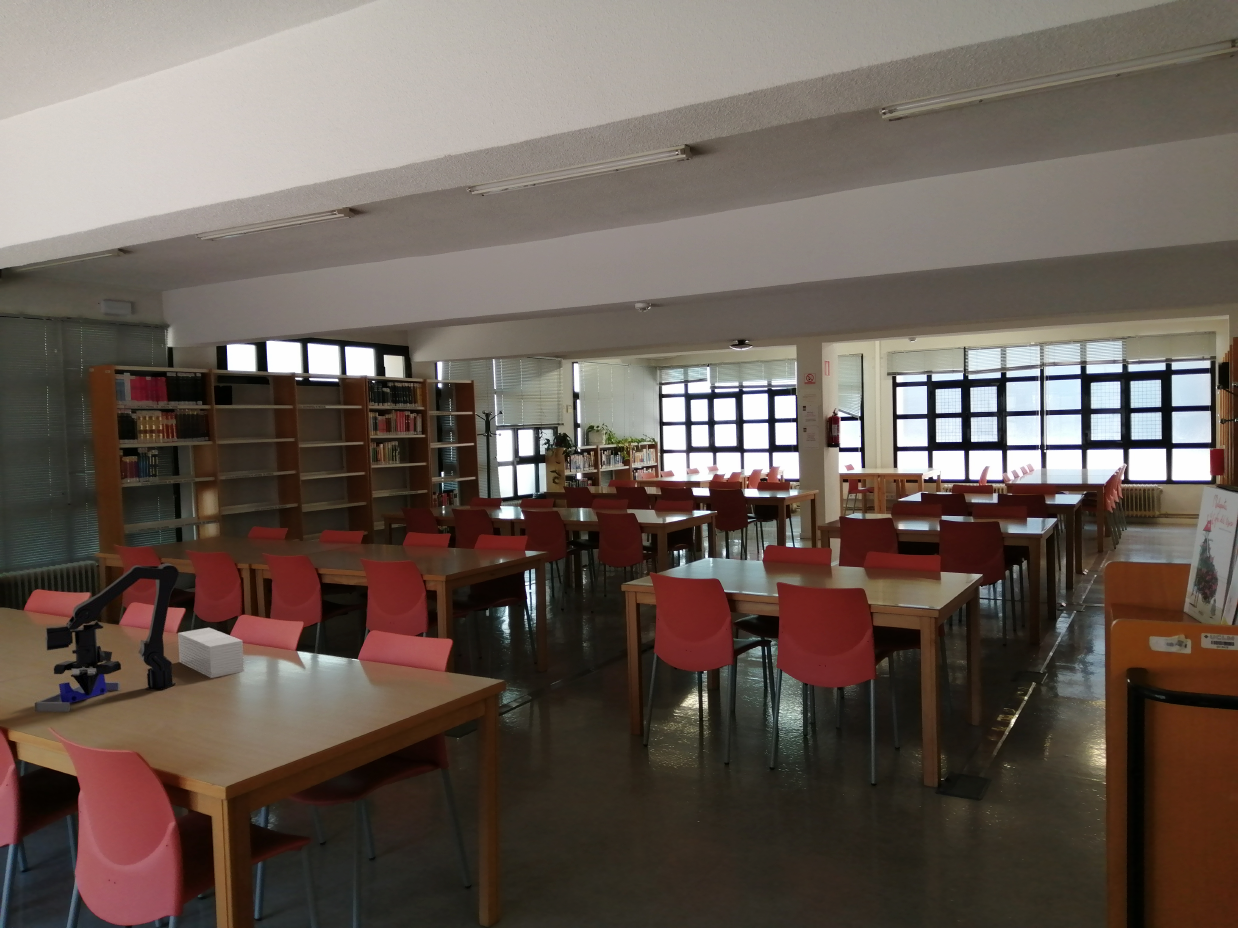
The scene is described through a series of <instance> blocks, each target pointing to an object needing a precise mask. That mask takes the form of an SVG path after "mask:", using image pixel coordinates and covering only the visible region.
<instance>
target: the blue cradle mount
mask: <svg viewBox="0 0 1238 928" xmlns="http://www.w3.org/2000/svg"><path fill="white" fill-rule="evenodd" d="M105 682H106V677H105V674H100V675H99V676H98V678H97V680H96V682H95V685H94V688H93V691H92V694H91V695H89V696H87V695H86V694H85V692H84V693H81V692H78V691H74V690H73V689H72V688H73V687H72V686H71V684H70V681H69V682H67V681H66V682H61V683H58V686H59V693H60V695H61V702H69V704H71V703H75V702H79V701H82V700H87V699H90V698H92V697H96V696H98V695H99V696H100V695H103V694H106V693H108V690H106V684H105Z"/></svg>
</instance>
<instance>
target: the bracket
mask: <svg viewBox="0 0 1238 928" xmlns="http://www.w3.org/2000/svg"><path fill="white" fill-rule="evenodd" d="M105 684H106V690H107V691H120V690H121V683H120V681H105ZM71 688H72V689H73V690H74V691H78V692H81V693H84V691H83V689H82V688H81V686H80V685H77V686H75V687H71ZM70 704H71V703H69V702H61V695H60V692H58V693H57V694H55V695H52V696H49V697H46V698H44V699H40V700H39V701H36V702H34V711H35V712H55V713H56V712H63V713H65V712H66V713H67V712H70V711H71V708H70Z"/></svg>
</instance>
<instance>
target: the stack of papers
mask: <svg viewBox="0 0 1238 928" xmlns="http://www.w3.org/2000/svg"><path fill="white" fill-rule="evenodd" d="M177 635H178V636H177V637H178V639H177V640H178V655H179V656H178V657H179V658H178V660H179V663H180V664H183V665H184V666H186V667H189V668H191V669H193V670H195V671H196V672H199V673H201V674H202V675H204V676H207V677H209V678H211V679H213V678H218V677H222V676H223V677H224V676H228V675H233V674H237V673H243V672H244V671H245V664H244V663H245V662H244V643H243V639H239V638H237V637H234V636H232V635H229V634H227V633H224V632H222V631H218V630H217V629H214V628H211V627H205V628H199V629H193V630H187V631H183V632H177Z"/></svg>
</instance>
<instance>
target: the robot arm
mask: <svg viewBox="0 0 1238 928" xmlns="http://www.w3.org/2000/svg"><path fill="white" fill-rule="evenodd" d="M179 576H180V571H179V569H178V568H177V567H176V566H175V565H173V564H171V563H168V562H167V563H162V564H160V565H133V566H132V567H131V568H130V569H129V570H128V571H127V572H125V573H124V574H122V575H121V576H120V577H118V578H117V579H116V580H115V581H114V582H112V583H111V584H110V585H109V586H107V587H106V588H105V589H103V590H102V591H100V592H99V593H98V594H96V595H94V596H91V597H89V598H87V599H86V600H84V601H82V602H80V603H78V604H76V605H75V606H74V608H73V610H72V615H71V617H70V618H69V620H68V621H67V622H66V623H65V625H61V626H48V627H46V628H45V638H44V639H45V640H44V641H45V649H46V651H47V652H48V651H54V650H60V649H66V648H67V649H68V648H70V647H69V646H71V645H72V644H74V647H75V648H74V649H73V650H72V652H71V653H72V654H74V655H75V660H66V661H62V662H59V663H57V664H55V666H54V667H53V675H63V674H64V673H65V672H66V671H72V673H71V674H70V677H71V678H73V679H74V680H75V681H76V683H77V684H78V686H81V688H82V689H83V691H84V692H85V694H86V695H87V696H89V695H91V694H92V691H93V688H94V685H95V682H96V680H97V678H98V676H99V675H100V674H104V675H110V674H113V673H115V672H117V671H121V670H122V664H121V662H120V661H119V660H112V657H113V651H109V650H102V647H101V645H98V640H97V639H98V638H97V637H98V636H97V630H100V629H104V625H103V624H101V623H100V622H99V621H98V620H95V619H96V618H98V616H99V615H100V614H101V613H102V612H103V610H104V609H105V608H106V607H107V606H108V605H109V604H110V603H111V602H112V601H114V600H115V599H116V598H118V597H119V596H120V595H122V593H124V592H125V591H126V590H128V589H129V588H130V587H131V586H133V585H134V584H136V583H137V582H138V581H139V580H144V579H145V580H155V586H156V587H155V588H156V592H155V594H156V595H155V599H154V603H153V609H152V610H153V611H152V615H151V619H150V625H149V626H150V627H149V631H148V635H147V638H146V639H145V640H143V639H141V640H140V649H139V650H138V652H137V653H138V654H139V655H140V659H141V660H142V661H143V662H144V664H145V665H146V666H148V667H150V668H147V673H146V679H147V686H146V687H145V690H150V691H151V690H160V691H161V690H166V689H169V688H170V687H173V686H174V685H177V683H176V682H175V681H173V668H172V664H173V662H172V661H171V660H170V659H169V658H168V657H166V656H165V645H164V644H165V643H164V633H165V632H164V631H165V627H166V623H167V617H168V611H169V604H170V600H171V594H172V593H173V592H172V591H173V590H174V588H175V586H176V584H177V581H178V579H179ZM73 633H74V637H73ZM73 640H74V641H73Z"/></svg>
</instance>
